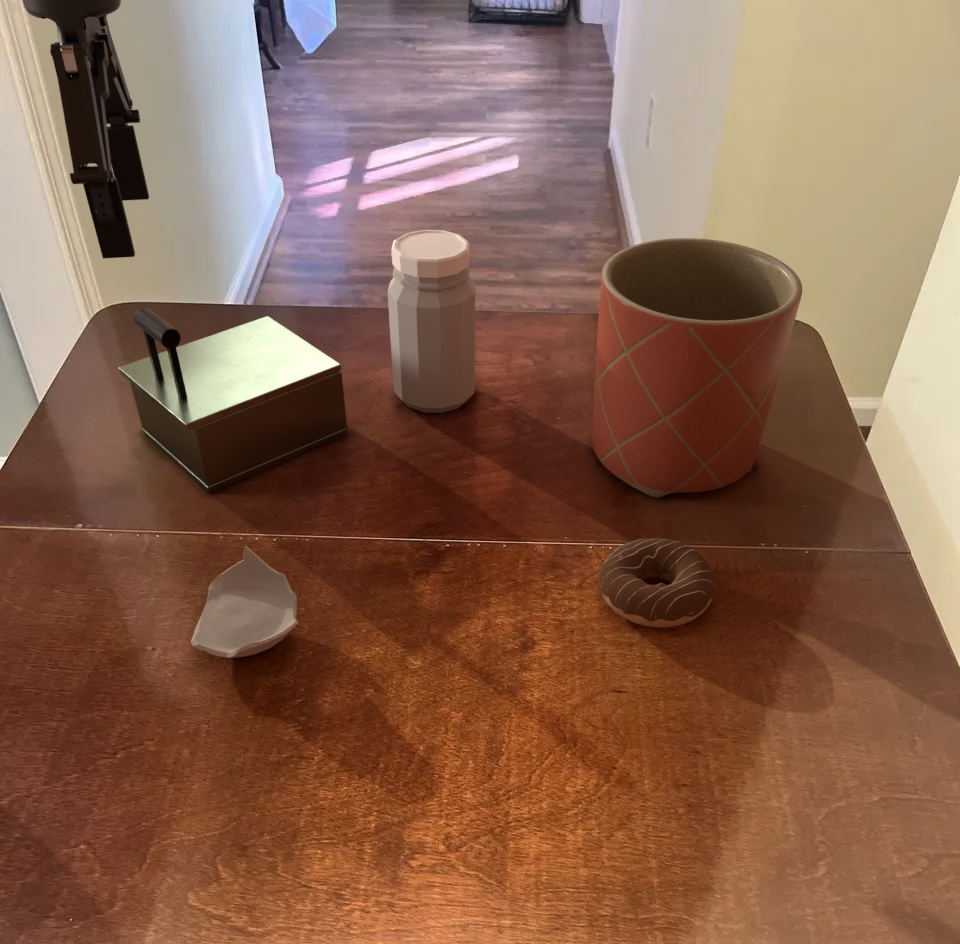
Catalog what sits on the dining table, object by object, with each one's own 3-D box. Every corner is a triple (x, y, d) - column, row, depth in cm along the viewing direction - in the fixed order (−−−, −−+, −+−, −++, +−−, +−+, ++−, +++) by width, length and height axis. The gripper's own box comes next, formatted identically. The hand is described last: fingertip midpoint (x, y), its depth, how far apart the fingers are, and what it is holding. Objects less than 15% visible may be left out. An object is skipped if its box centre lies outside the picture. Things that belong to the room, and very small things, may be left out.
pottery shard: (238, 582, 92) (230, 540, 89) (342, 616, 89) (337, 574, 86) (171, 653, 85) (159, 611, 82) (280, 692, 82) (273, 650, 79)
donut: (720, 638, 87) (728, 605, 84) (601, 636, 87) (605, 603, 85) (703, 561, 95) (710, 528, 92) (593, 559, 95) (597, 526, 92)
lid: (187, 431, 96) (168, 353, 91) (119, 373, 104) (99, 299, 99) (341, 370, 105) (333, 296, 99) (268, 322, 113) (257, 250, 107)
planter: (641, 524, 99) (669, 340, 85) (554, 429, 111) (566, 255, 98) (795, 479, 105) (845, 300, 91) (697, 394, 117) (727, 225, 103)
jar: (377, 393, 117) (365, 242, 104) (439, 366, 122) (435, 218, 109) (430, 426, 112) (424, 271, 99) (492, 396, 117) (495, 245, 104)
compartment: (209, 493, 102) (194, 428, 97) (144, 434, 110) (127, 371, 105) (348, 434, 111) (341, 371, 105) (278, 383, 118) (268, 322, 113)
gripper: (88, -14, 69) (156, 281, 84) (126, -77, 86) (177, 176, 101) (-24, -11, 68) (65, 286, 83) (38, -75, 86) (102, 179, 100)
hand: (127, 226), depth 92 cm, fingers open, 13 cm apart
